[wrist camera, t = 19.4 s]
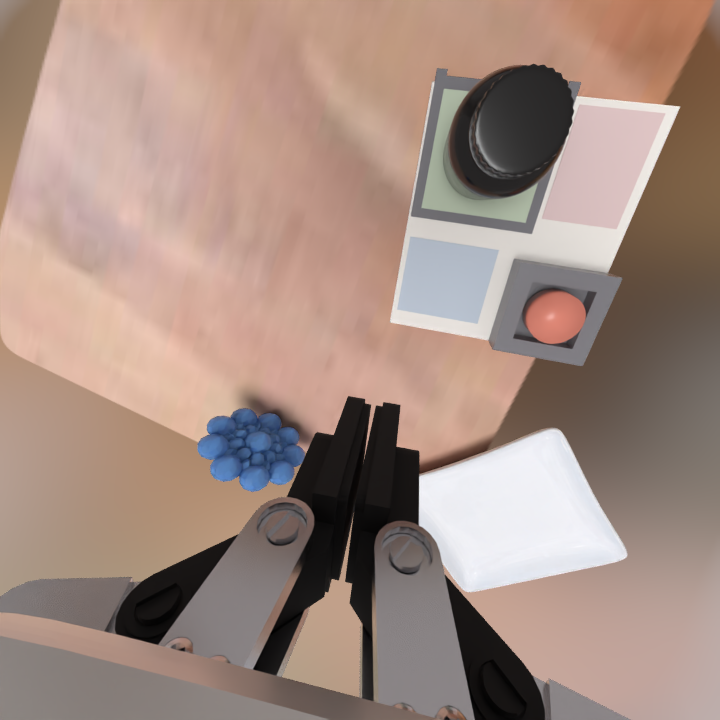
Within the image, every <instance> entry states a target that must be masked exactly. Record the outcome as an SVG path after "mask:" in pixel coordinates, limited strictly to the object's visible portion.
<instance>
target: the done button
mask: <svg viewBox="0 0 720 720" xmlns="http://www.w3.org/2000/svg"><path fill="white" fill-rule="evenodd" d="M585 318H586V311H585V308H584V305H583V304H582V302H581V301H580V300H579V299H577V298H576V297H574V296H573V295H571V294H569V293H568V292H566V291H564V290H561V289H546V290H543V291H540V292H538V293H537V294H535V295H534V296H532V297H531V298H530V299H529V300H528V302H527V303H526V305H525V307H524V310H523V322H524V324H525V326H526V328H527V329H528V330H529V331H530V333H531V334H532V335H533V336H534V337H535V338H536V339H538V340H539V341H541V342H544V343H549V344H556V343H562V342H565V341H567V340H569V339H571V338H572V337H574V336H575V335H576V334H577V333H578V332H579V331H580V330H581V328H582V327H583V325H584V322H585Z"/></svg>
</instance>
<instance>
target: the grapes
mask: <svg viewBox="0 0 720 720" xmlns="http://www.w3.org/2000/svg"><path fill="white" fill-rule="evenodd" d="M281 426H282V425H281V420H280V418H279V417H278V416H277V415H276V414H273V413H265V414H263V415H261V416H259V418H257V415H256V413H255V412H254V411H252V410H251V409H246V408H243V409H238V410H236V411H234V412H233V414H232V415H231V418H230V417H227V416H217V417H215V418H213V419H211V420H210V421H209V422H208V424H207V431H208V433H209V434H210V435H207V436H205V437H203V438H201V440H200V441H199V443H198V452H199V454H200V455H201V457H204V458H206V459H209V460H213V459H214V461H213V462H212V464H211V465H210V472H211V474H212V476H213V477H214V478H215V479H217V480H220V481H223V482H224V481H231V480H233V479H235V478H237V477H238V476H239V482H240V484H241V486H242V487H243V489H246V490H248V491H251V492H254V491H259V490H261V489H262V488H264V487H265V486H267V484H268V482H269V481H270V482H272V483H274V484H277V485H282V484H286V483H287V482H289V481H290V480H292V478H293V476H294V468H293V467H296V466H298V465H300V464H301V463H302V462H303V460H304V458H305V453H304V451H303V449H302V448H301V447H299V446H297V445H296V444H297V443H298V441H299V433H298V432H297V430H295V429H294V428H292V427H283V428H281ZM280 428H281V429H280Z"/></svg>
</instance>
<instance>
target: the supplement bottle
mask: <svg viewBox="0 0 720 720" xmlns="http://www.w3.org/2000/svg"><path fill="white" fill-rule="evenodd" d="M571 95H572V90H571V89H570V88H569V87H568V82H567V80H565V79H563V77H562V75H561V73H558V72H555V70H554V69H553V68H547V67H546V66H545V65H540V66H537V65H536V64H532V65H530V66H528V65H513V66H508V67H505V68H502V69H499V70H497V71H494V72H493V73H491V74H489V75H487V76H486V77H484V78H483V79H482V80H480V81H479V82H478V83H477V84H476V85H475V86H474V87H473V88H472V89H471V90H470V91H469V92H468V94H467V95H466V96H465V98H464V99H463V100H462V102H461V104H460V105H459V107H458V109H457V111H456V113H455V115H454V118H453V120H452V123H451V127H450V130H449V133H448V136H447V139H446V142H445V146H444V152H443V167H444V172H445V175H446V178H447V180H448V182H449V183H450V185H451V186H452V187H453V189H454V190H455V191H456V192H458V193H459V194H460V195H462V196H464V197H466V198H469V199H473V200H493V199H503V198H508V197H512V196H515V195H518V194H520V193H522V192H524V191H526V190H528V189H530V188H531V187H533V186H534V185H536V184H537V183H538V182H539V181H540V180H542V179H543V178H544V177H545V176H546V175H547V173H548V172H549V171H550V170H551V169H552V167H553V166H554V164H555V163H556V161H557V160H558V158H559V156H560V154H561V152H562V150H563V147H564V145H565V142H566V138H567V136H568V135H569V128H570V127H571V125H572V123H573V122H572V116H573V114H574V109H573V103H574V100H573V98H572V96H571Z"/></svg>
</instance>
